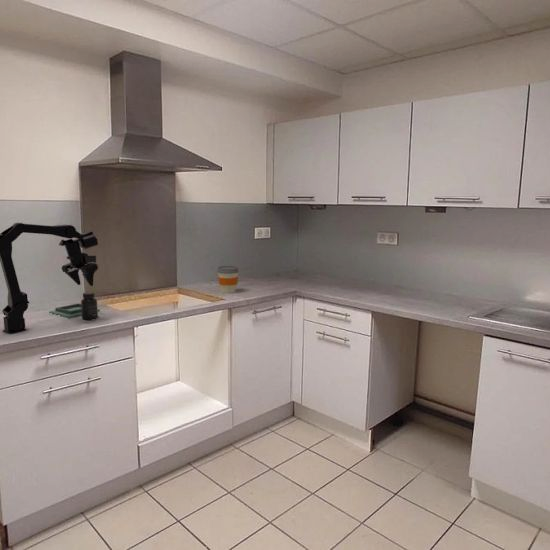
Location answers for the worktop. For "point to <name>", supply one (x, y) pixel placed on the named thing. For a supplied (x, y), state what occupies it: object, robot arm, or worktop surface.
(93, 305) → the supplement bottle
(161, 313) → the worktop surface
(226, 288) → the reusable coffee cup
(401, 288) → the worktop surface
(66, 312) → the dock board
